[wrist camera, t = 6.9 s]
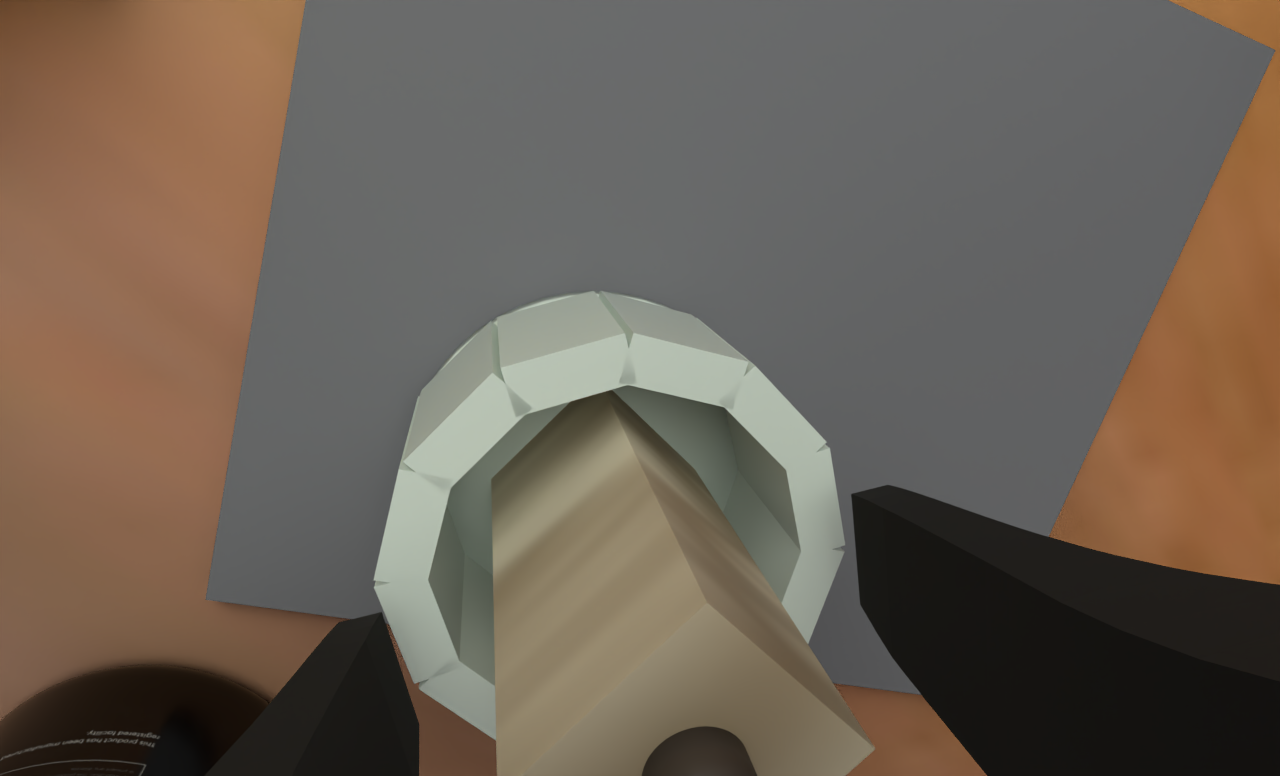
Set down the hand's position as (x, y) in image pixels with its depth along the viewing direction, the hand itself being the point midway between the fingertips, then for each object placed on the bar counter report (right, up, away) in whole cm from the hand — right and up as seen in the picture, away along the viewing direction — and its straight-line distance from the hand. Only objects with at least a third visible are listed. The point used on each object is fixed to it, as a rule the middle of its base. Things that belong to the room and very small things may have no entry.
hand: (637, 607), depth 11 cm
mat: (+2, +5, +5) cm, 7 cm away
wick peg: (-1, +2, +4) cm, 5 cm away
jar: (-1, +2, +5) cm, 5 cm away
